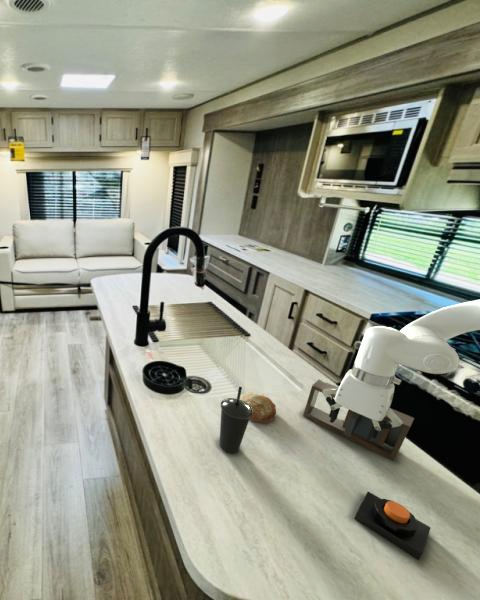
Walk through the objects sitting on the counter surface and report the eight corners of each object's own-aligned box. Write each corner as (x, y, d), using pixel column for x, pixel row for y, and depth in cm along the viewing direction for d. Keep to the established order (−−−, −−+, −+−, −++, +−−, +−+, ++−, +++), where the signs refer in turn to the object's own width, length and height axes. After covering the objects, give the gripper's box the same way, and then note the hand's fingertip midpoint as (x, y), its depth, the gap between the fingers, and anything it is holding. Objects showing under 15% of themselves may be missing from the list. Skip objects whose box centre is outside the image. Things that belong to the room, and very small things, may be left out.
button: (409, 516, 65) (412, 511, 64) (405, 527, 63) (408, 521, 62) (386, 503, 67) (388, 497, 67) (381, 513, 65) (384, 507, 65)
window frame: (398, 451, 84) (414, 417, 80) (393, 461, 81) (410, 426, 77) (309, 409, 100) (318, 379, 95) (302, 415, 97) (312, 385, 93)
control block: (426, 534, 65) (434, 521, 63) (418, 560, 60) (426, 547, 59) (364, 497, 72) (370, 485, 71) (353, 518, 68) (359, 506, 66)
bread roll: (236, 410, 105) (230, 393, 102) (265, 398, 104) (260, 381, 101) (253, 433, 96) (247, 415, 93) (286, 420, 94) (280, 401, 92)
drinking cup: (207, 440, 89) (217, 382, 81) (228, 433, 91) (240, 375, 84) (228, 461, 82) (241, 400, 75) (250, 452, 84) (264, 392, 77)
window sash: (383, 445, 84) (393, 420, 81) (375, 457, 80) (386, 432, 77) (342, 425, 90) (351, 402, 87) (334, 436, 87) (343, 413, 84)
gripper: (423, 385, 74) (397, 442, 80) (335, 355, 87) (318, 405, 93) (417, 398, 70) (390, 457, 76) (324, 364, 83) (308, 416, 89)
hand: (350, 428), depth 85 cm, fingers open, 7 cm apart
